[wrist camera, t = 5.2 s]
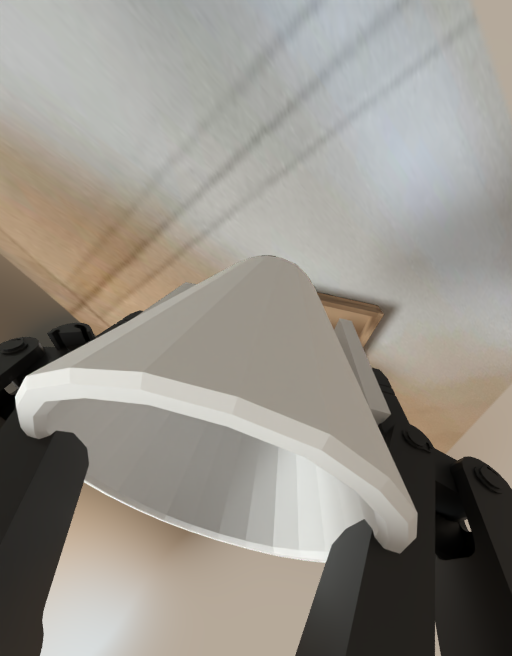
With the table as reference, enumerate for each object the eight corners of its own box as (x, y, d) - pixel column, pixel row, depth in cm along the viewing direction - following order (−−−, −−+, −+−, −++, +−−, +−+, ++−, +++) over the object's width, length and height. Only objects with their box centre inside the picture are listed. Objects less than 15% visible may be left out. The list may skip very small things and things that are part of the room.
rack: (288, 285, 33) (281, 331, 21) (377, 305, 32) (421, 365, 20) (264, 373, 46) (252, 431, 35) (327, 389, 45) (336, 454, 34)
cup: (243, 202, 12) (-120, 202, 2) (363, 286, 13) (579, 578, 3) (195, 313, 18) (42, 473, 7) (282, 364, 19) (260, 561, 9)
